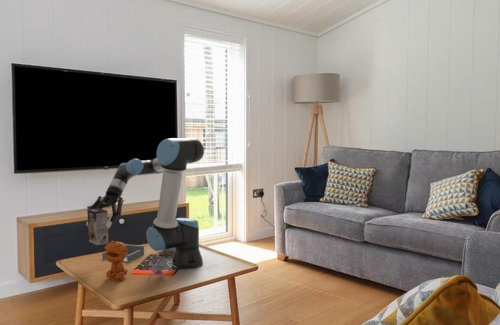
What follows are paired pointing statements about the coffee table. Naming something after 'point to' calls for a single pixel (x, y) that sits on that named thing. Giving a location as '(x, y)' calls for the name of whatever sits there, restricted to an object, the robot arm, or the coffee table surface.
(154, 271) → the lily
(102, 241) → the coffee box
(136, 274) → the coffee table surface
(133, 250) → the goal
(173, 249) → the teacup
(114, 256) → the orange figurine
